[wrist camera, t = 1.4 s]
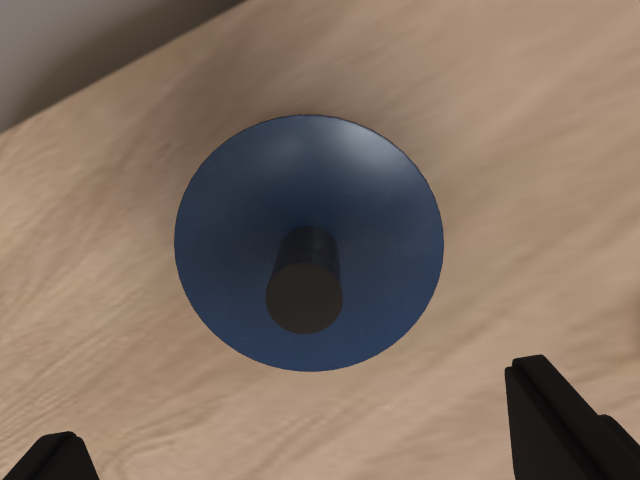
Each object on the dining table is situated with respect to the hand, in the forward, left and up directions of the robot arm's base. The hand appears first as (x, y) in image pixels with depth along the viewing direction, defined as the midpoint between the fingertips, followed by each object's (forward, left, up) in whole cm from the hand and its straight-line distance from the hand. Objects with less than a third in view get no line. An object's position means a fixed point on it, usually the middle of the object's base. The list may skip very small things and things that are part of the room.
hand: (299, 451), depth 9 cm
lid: (0, 0, -14) cm, 14 cm away
